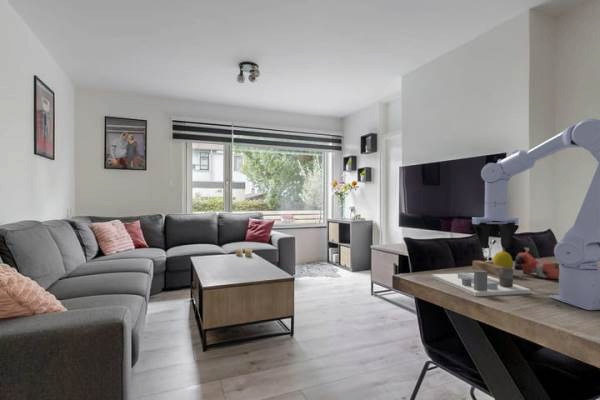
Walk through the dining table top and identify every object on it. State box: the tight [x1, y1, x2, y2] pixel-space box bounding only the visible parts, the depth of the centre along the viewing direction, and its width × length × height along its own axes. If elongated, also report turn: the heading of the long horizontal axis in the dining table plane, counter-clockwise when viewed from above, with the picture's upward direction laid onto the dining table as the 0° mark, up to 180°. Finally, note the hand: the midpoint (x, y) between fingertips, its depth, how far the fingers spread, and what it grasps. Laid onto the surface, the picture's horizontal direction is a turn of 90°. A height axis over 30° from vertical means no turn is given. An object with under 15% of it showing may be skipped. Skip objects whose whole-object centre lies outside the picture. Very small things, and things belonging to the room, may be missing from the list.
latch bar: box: [472, 260, 514, 287], centre depth 93 cm, size 13×3×4 cm, turn 10°
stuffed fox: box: [514, 247, 559, 280], centre depth 104 cm, size 8×11×12 cm
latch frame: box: [431, 270, 532, 297], centre depth 92 cm, size 19×17×6 cm
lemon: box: [492, 250, 514, 269], centre depth 106 cm, size 6×6×8 cm
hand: (494, 247), depth 96 cm, fingers open, 7 cm apart
